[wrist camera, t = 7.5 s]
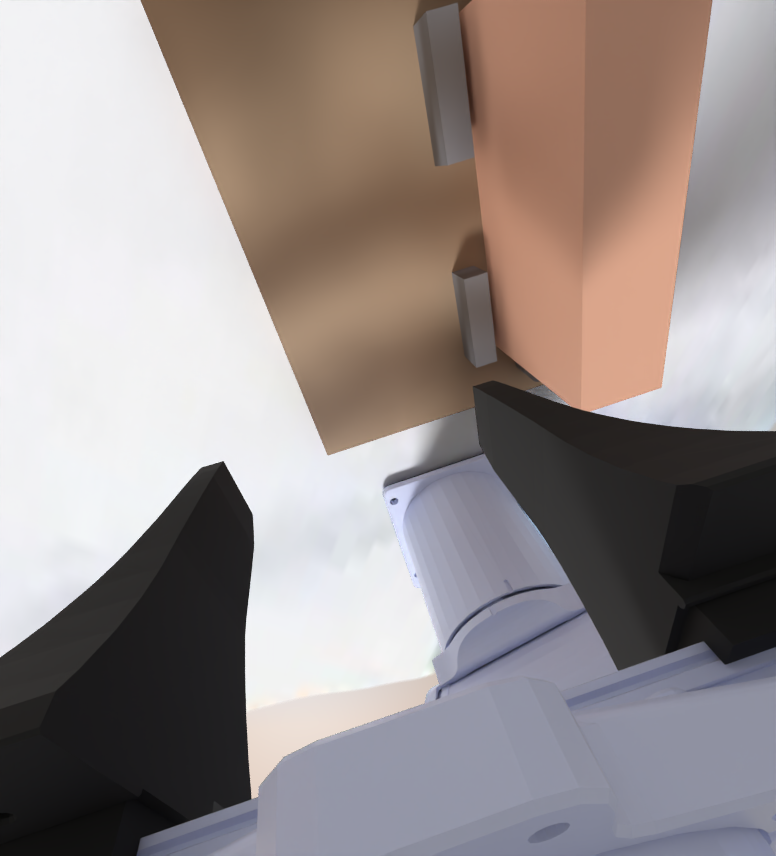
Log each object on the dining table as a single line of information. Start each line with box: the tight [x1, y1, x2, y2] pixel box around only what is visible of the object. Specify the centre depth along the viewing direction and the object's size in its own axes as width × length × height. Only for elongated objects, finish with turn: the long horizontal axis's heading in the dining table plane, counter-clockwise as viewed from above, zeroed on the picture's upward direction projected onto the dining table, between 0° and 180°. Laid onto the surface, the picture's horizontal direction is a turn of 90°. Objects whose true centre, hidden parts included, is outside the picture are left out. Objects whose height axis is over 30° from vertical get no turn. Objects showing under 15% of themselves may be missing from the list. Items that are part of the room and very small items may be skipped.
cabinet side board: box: [141, 0, 543, 455], centre depth 17 cm, size 18×16×3 cm
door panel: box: [459, 0, 712, 412], centre depth 14 cm, size 12×3×7 cm, turn 14°
